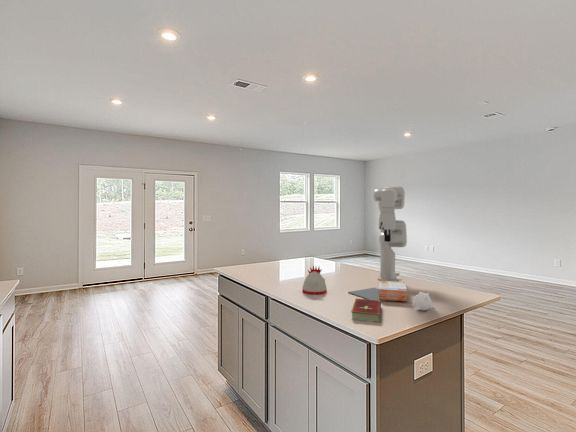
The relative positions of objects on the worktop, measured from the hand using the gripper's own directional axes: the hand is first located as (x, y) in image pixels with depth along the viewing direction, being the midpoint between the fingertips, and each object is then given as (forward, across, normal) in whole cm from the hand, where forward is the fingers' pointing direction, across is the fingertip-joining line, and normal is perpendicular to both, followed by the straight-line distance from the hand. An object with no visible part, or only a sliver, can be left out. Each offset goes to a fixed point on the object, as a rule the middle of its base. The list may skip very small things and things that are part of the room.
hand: (387, 241), depth 191 cm
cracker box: (+25, +3, +6) cm, 26 cm away
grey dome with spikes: (+28, +41, -18) cm, 52 cm away
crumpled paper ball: (+28, +15, +36) cm, 48 cm away
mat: (+28, +16, +6) cm, 33 cm away
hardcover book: (+28, +42, +26) cm, 57 cm away
